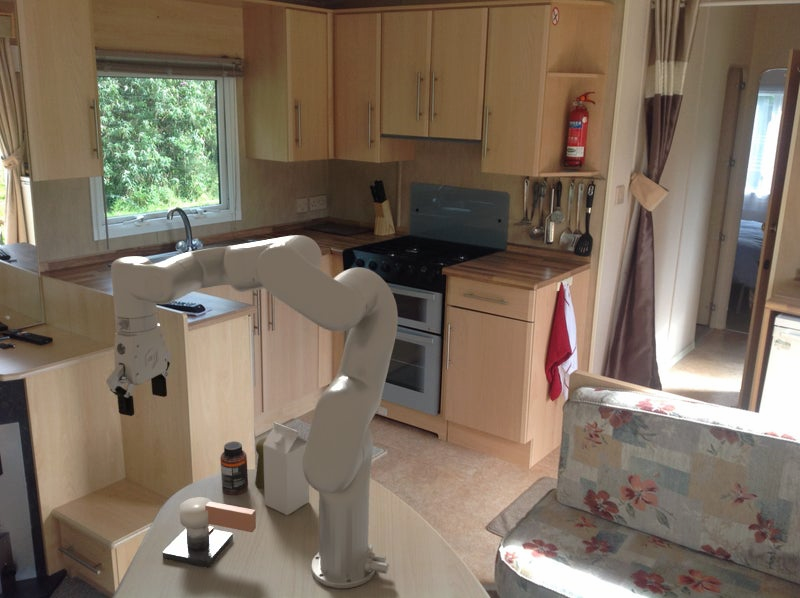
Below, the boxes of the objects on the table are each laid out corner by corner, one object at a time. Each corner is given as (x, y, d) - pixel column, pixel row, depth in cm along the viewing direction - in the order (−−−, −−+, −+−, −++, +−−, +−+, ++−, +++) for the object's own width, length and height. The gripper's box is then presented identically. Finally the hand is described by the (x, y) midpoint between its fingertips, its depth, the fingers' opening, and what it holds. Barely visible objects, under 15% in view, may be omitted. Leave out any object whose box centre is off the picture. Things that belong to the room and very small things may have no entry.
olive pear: (275, 490, 172) (274, 448, 169) (251, 487, 173) (249, 444, 170) (284, 478, 178) (283, 436, 175) (260, 474, 179) (259, 433, 176)
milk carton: (286, 492, 172) (285, 416, 166) (309, 502, 168) (309, 425, 162) (264, 505, 166) (262, 427, 161) (287, 516, 162) (286, 437, 157)
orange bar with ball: (173, 524, 146) (172, 506, 145) (191, 507, 152) (190, 490, 151) (246, 539, 142) (245, 521, 141) (261, 521, 148) (260, 503, 147)
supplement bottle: (237, 479, 176) (235, 436, 173) (253, 488, 173) (252, 444, 169) (216, 489, 172) (214, 445, 169) (232, 498, 168) (230, 453, 165)
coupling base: (232, 539, 153) (231, 511, 151) (208, 568, 144) (206, 539, 142) (189, 530, 156) (188, 503, 154) (162, 558, 147) (160, 530, 145)
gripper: (121, 338, 132) (129, 425, 137) (181, 312, 148) (186, 391, 152) (87, 332, 135) (96, 418, 139) (150, 307, 150) (156, 386, 155)
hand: (143, 404), depth 146 cm, fingers open, 9 cm apart
